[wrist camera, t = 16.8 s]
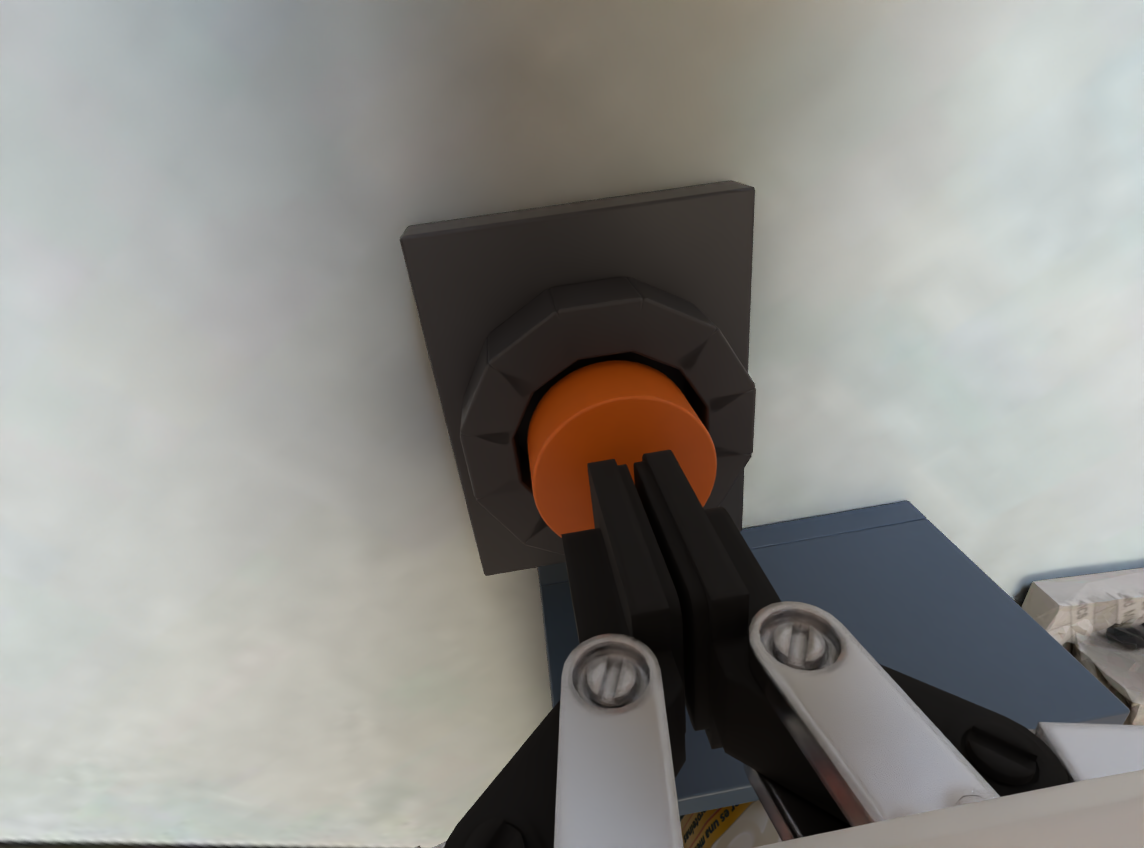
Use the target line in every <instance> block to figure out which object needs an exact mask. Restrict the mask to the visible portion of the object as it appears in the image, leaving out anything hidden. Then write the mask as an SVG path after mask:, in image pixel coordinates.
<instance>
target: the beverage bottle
mask: <svg viewBox="0 0 1144 848" xmlns="http://www.w3.org/2000/svg"><path fill="white" fill-rule="evenodd" d="M680 823H681V831H682V839H683V847H684V848H754V847H758V846H763V845H768V844H773V843H778V842H782V840H781V839H780V837H779V835H778V833H777V831H776V829H775V828H774V826H773V824H772V822H771V820H770V819H769V817H768V815H767V813H766V811H765V810H764V808H763V806H762V804H761V802H760V800H758V801H753V802H748V803H743V804H738V805H732V806H727V807H722V808H717V809H712V810H707V811H702V812H697V813H692V814H687V815H682V816H680Z"/></svg>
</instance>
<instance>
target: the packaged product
mask: <svg viewBox="0 0 1144 848" xmlns="http://www.w3.org/2000/svg"><path fill="white" fill-rule="evenodd" d="M1021 608H1022V609H1023V610H1025V611H1026V612H1027V613H1028V614H1029V615H1030V616H1031V617H1032V618H1033V619H1034V620H1035V621H1036V622H1037V623H1038V624H1039V625H1041V626H1042V627H1043V628H1044V629H1045V630H1046V631H1047V632H1048V633H1049V634H1050V635H1051V636H1052V637H1053V638H1054V639H1055V640H1056V641H1058V642H1059V643H1060V644H1061V645H1062V646H1063V647H1064V648H1065V649H1066V650H1067V651H1068V652H1069V653H1070V654H1071V655H1072V656H1073V657H1075V658H1076V659H1077V660H1078V661H1079V662H1080V663H1081V664H1082V665H1083V666H1084V667H1085V668H1086V669H1087V670H1088V671H1089V672H1090V673H1092V674H1093V675H1094V676H1095V677H1096V678H1097V679H1098V680H1099V681H1100V682H1101V683H1102V684H1103V685H1104V686H1105V687H1106V688H1107V689H1109V690H1110V691H1111V692H1112V693H1113V694H1114V695H1115V696H1116V697H1117V698H1118V699H1119V700H1120V701H1121V702H1122V703H1123V704H1124V705H1126V706H1127V707H1128V708H1129V710H1130V713H1129V715H1128V717H1127V718H1126V720H1125V722H1124V724H1123V725H1143V726H1144V568H1137V569H1129V570H1121V571H1113V572H1105V573H1096V574H1088V575H1080V576H1072V577H1064V578H1056V579H1048V580H1039V581H1033V582H1032V584H1031V586H1030V589H1029V591H1028V593H1027V595H1026V598H1025V600H1024V602H1023V605H1022V607H1021Z"/></svg>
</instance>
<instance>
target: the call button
mask: <svg viewBox="0 0 1144 848" xmlns="http://www.w3.org/2000/svg"><path fill="white" fill-rule="evenodd" d="M527 444H528V454H529V463H530V472H531V481H532V490H533V497H534V501H535V504H536V507H537V509H538V511H539V514H540V515H541V517H542V518H543V520H544V521H545V523H546V524H547V525H548V526H549V527H550V528H551V529H552V530H553V531H554V532H555V533H556V534H557V535H558V536H560V537H561V538H562V536H561V534H566V533H572V532H578V531H583V530H589V529H595V526H594V517H593V509H592V501H591V493H590V485H589V476H588V467H587V464H588V463H591V462H597V461H603V460H609V459H615V461H616V463H617V465H623V464H626V465H627V467H628V469H629V472H630V474H631V477H632V479H633V482H634V484H635V481H634V463H635V462H641V461H642V456H643V454H645V453H651V452H657V451H664V450H671V451H672V452H673V454H674V456H675V458H676V459H677V461H678V463H679V465H680V467H681V469H682V470H683V472H684V474H685V476H686V478H687V480H688V481H689V483H690V485H691V487H692V489H693V491H694V492H695V494H696V496H697V498H698V500H699V502H700V503H701V505H702V507H704V505H705V504H706V502H707V500H708V498H709V496H710V494H711V491H712V489H713V486H714V482H715V478H716V470H717V458H716V451H715V447H714V443H713V441H712V438H711V436H710V434H709V432H708V431H707V429H706V428H705V426H704V424H703V423H702V421H701V420H700V419H699V417H698V416H697V414H696V413H695V411H694V410H693V408H692V407H691V405H690V404H689V402H688V401H687V399H686V398H685V396H684V395H683V393H682V392H681V390H680V389H679V388H678V387H677V385H676V384H675V383H674V382H673V381H672V380H671V379H670V378H668V377H667V376H666V375H665V374H663V373H661V372H660V371H658V370H656V369H654V368H652V367H650V366H648V365H644V364H641V363H637V362H631V361H620V360H613V361H603V362H598V363H593V364H590V365H587V366H584V367H581V368H579V369H577V370H575V371H573V372H571V373H569V374H568V375H566V376H565V377H563V378H562V379H560V380H559V381H558V382H557V383H555V384H554V385H553V386H552V387H551V388H550V389H549V390H548V391H547V392H546V393H545V394H544V396H543V397H542V399H541V400H540V401H539V403H538V405H537V406H536V408H535V410H534V412H533V415H532V417H531V420H530V424H529V428H528V437H527Z"/></svg>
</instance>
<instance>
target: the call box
mask: <svg viewBox="0 0 1144 848" xmlns="http://www.w3.org/2000/svg"><path fill="white" fill-rule="evenodd" d="M754 201H755V189H754V187H751V186H747V185H744V184H741V183H738V182H734V181H726V182H718V183H711V184H704V185H697V186H690V187H683V188H676V189H669V190H661V191H654V192H647V193H640V194H633V195H626V196H619V197H611V198H604V199H597V200H590V201H583V202H576V203H569V204H562V205H554V206H547V207H540V208H533V209H526V210H519V211H512V212H505V213H497V214H490V215H483V216H476V217H469V218H462V219H455V220H447V221H440V222H433V223H426V224H419V225H412V226H409V227H407V229H406V230H405V231H404V233H403V234H402V236H401V237H400V243H401V247H402V251H403V255H404V259H405V263H406V267H407V271H408V274H409V278H410V282H411V286H412V290H413V294H414V298H415V302H416V306H417V310H418V314H419V318H420V322H421V326H422V330H423V334H424V338H425V342H426V346H427V350H428V354H429V358H430V361H431V365H432V369H433V373H434V377H435V381H436V385H437V389H438V393H439V397H440V401H441V405H442V409H443V413H444V417H445V421H446V425H447V429H448V433H449V437H450V441H451V445H452V449H453V452H454V456H455V460H456V464H457V468H458V472H459V476H460V480H461V484H462V488H463V492H464V496H465V500H466V504H467V508H468V512H469V516H470V520H471V524H472V528H473V532H474V536H475V540H476V543H477V547H478V551H479V555H480V559H481V563H482V567H483V571H484V574H485V575H486V576H488V575H494V574H500V573H506V572H511V571H517V570H523V569H529V568H535V567H540V566H546V565H552V564H558V563H563V562H565V555H564V549H563V543H562V538H561V537H560V536H558V535H557V534H556V533H555V532H554V531H553V530H552V529H551V528H550V527H549V526H548V525H547V524H546V523H545V521H544V520H543V518H542V517H541V515H540V514H539V511H538V509H537V507H536V504H535V501H534V497H533V490H532V481H531V472H530V463H529V454H528V444H527V437H528V428H529V424H530V420H531V417H532V415H533V412H534V410H535V408H536V406H537V405H538V403H539V401H540V400H541V399H542V397H543V396H544V394H545V393H546V392H547V391H548V390H549V389H550V388H551V387H552V386H553V385H554V384H555V383H557V382H558V381H559V380H560V379H562V378H563V377H565V376H566V375H568V374H569V373H571V372H573V371H575V370H577V369H579V368H581V367H584V366H587V365H590V364H593V363H598V362H603V361H613V360H620V361H631V362H637V363H641V364H644V365H648V366H650V367H652V368H654V369H656V370H658V371H660V372H661V373H663V374H665V375H666V376H667V377H668V378H670V379H671V380H672V381H673V382H674V383H675V384H676V385H677V387H678V388H679V389H680V390H681V392H682V393H683V395H684V396H685V398H686V399H687V401H688V402H689V404H690V405H691V407H692V408H693V410H694V411H695V413H696V414H697V416H698V417H699V419H700V420H701V421H702V423H703V424H704V426H705V428H706V429H707V431H708V432H709V434H710V436H711V438H712V441H713V443H714V447H715V451H716V458H717V470H716V478H715V482H714V486H713V489H712V491H711V494H710V496H709V498H708V500H707V502H706V504H705V505H704V507H703V509H704V510H705V509H711V508H717V507H723V508H725V509H726V511H727V512H728V513H729V515H730V516H731V518H732V520H733V521H734V523H735V525H736V526H737V528H738V530H739V531H740V532H741V531H742V511H743V485H744V467H745V466H746V464H747V462H748V461H749V459H750V458H751V455H752V454H751V453H752V452H753V438H754V416H755V395H756V389H755V384H754V382H753V381H752V379H751V378H750V376H749V374H748V356H749V330H750V304H751V278H752V252H753V226H754Z"/></svg>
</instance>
